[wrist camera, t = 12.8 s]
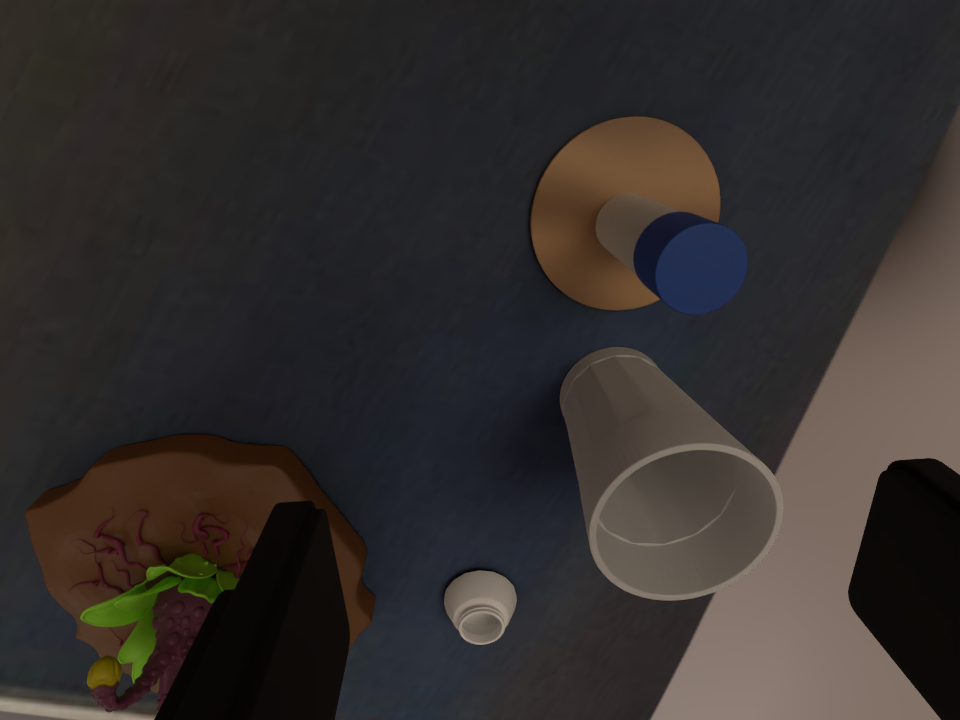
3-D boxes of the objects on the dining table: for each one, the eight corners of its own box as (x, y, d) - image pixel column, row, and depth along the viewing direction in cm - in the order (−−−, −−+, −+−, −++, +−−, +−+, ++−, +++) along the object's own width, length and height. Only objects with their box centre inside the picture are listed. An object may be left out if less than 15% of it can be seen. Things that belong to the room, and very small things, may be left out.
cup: (626, 306, 32) (716, 404, 21) (702, 398, 34) (819, 529, 23) (519, 392, 34) (549, 525, 23) (599, 473, 36) (661, 628, 25)
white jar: (440, 616, 40) (508, 622, 41) (439, 652, 38) (512, 658, 38) (449, 562, 39) (521, 569, 39) (449, 596, 36) (525, 603, 36)
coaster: (530, 119, 28) (531, 119, 27) (730, 112, 28) (733, 112, 28) (529, 312, 32) (530, 314, 31) (704, 304, 32) (707, 306, 32)
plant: (294, 393, 33) (220, 517, 23) (405, 624, 41) (388, 795, 30) (-8, 481, 35) (-205, 634, 24) (153, 688, 42) (55, 871, 32)
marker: (594, 191, 29) (659, 224, 20) (660, 189, 29) (755, 221, 20) (591, 257, 30) (651, 317, 21) (654, 255, 30) (740, 313, 21)
